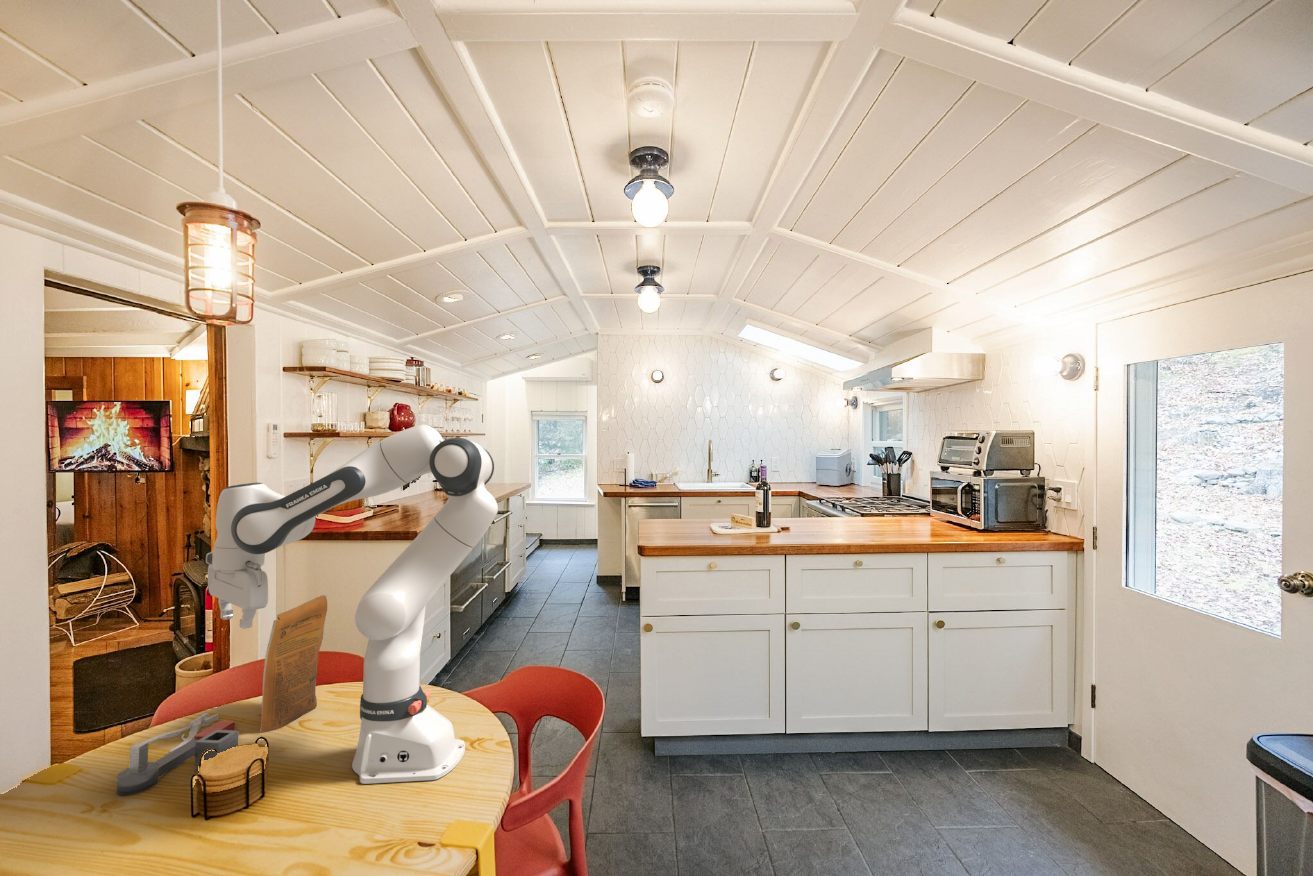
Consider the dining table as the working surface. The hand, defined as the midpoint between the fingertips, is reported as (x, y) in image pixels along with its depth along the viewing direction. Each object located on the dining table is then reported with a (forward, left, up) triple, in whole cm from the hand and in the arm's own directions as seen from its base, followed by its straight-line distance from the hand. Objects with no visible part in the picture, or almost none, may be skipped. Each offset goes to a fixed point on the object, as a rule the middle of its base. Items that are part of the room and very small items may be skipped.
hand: (235, 623), depth 119 cm
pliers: (+19, -8, -29) cm, 36 cm away
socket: (+1, +3, -29) cm, 29 cm away
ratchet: (+10, +2, -29) cm, 30 cm away
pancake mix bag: (0, -18, -29) cm, 34 cm away
